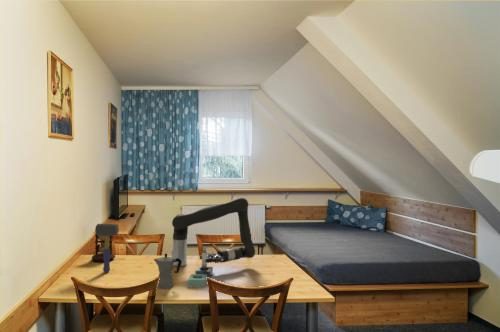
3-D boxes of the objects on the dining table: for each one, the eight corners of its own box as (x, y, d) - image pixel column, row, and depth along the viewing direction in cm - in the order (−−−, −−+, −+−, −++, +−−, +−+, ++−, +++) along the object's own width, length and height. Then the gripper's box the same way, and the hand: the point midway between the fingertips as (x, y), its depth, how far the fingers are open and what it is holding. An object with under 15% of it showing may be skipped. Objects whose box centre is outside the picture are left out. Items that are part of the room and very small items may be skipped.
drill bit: (200, 276, 218) (201, 248, 217) (201, 274, 221) (202, 246, 220) (206, 276, 217) (206, 248, 217) (207, 274, 221) (207, 247, 220)
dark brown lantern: (117, 256, 255) (118, 228, 254) (111, 262, 240) (111, 233, 239) (96, 256, 254) (96, 228, 253) (88, 262, 239) (88, 232, 239)
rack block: (187, 286, 200) (187, 279, 200) (191, 280, 209) (191, 274, 209) (204, 287, 199) (204, 280, 199) (207, 281, 209) (207, 274, 208)
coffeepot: (151, 288, 195) (151, 255, 195) (155, 282, 205) (156, 251, 204) (179, 289, 195) (180, 256, 195) (182, 283, 205) (183, 251, 204)
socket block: (195, 277, 215) (195, 270, 215) (198, 272, 224) (198, 266, 224) (210, 278, 214) (210, 271, 214) (212, 273, 223) (212, 266, 223)
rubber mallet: (118, 270, 225) (119, 222, 224) (115, 274, 218) (115, 224, 217) (98, 270, 224) (99, 222, 224) (93, 274, 217) (94, 224, 216)
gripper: (220, 247, 233) (198, 250, 224) (232, 252, 222) (208, 255, 212) (220, 258, 234) (197, 262, 224) (232, 264, 222) (208, 268, 213)
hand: (203, 259), depth 218 cm, fingers open, 8 cm apart
